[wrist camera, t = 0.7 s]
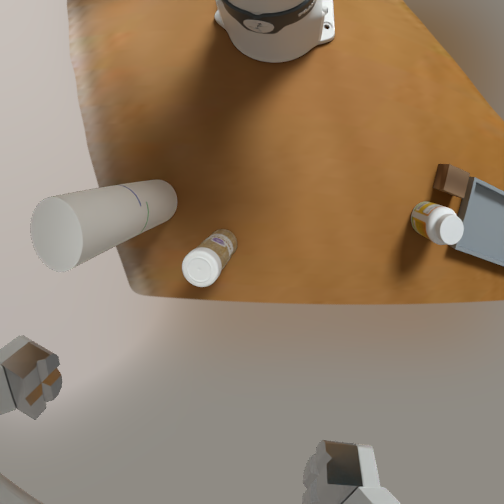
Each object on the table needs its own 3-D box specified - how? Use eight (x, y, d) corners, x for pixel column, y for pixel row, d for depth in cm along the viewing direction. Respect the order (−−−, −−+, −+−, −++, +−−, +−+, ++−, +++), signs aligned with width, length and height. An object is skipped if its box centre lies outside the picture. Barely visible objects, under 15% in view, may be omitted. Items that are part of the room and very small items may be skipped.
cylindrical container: (164, 171, 48) (61, 181, 24) (185, 210, 49) (95, 252, 25) (130, 193, 49) (21, 220, 25) (150, 230, 51) (51, 283, 27)
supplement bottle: (432, 239, 45) (460, 255, 36) (405, 228, 45) (429, 243, 36) (443, 207, 44) (473, 217, 34) (416, 196, 44) (443, 203, 35)
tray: (467, 176, 42) (474, 177, 39) (526, 206, 41) (534, 208, 38) (448, 245, 45) (455, 249, 43) (509, 267, 44) (516, 271, 42)
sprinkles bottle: (239, 231, 49) (221, 255, 36) (235, 259, 50) (215, 292, 37) (210, 225, 49) (182, 247, 36) (207, 253, 50) (179, 283, 38)
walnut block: (438, 163, 42) (449, 164, 38) (457, 172, 42) (469, 173, 38) (432, 187, 43) (443, 190, 39) (452, 195, 43) (463, 198, 39)
